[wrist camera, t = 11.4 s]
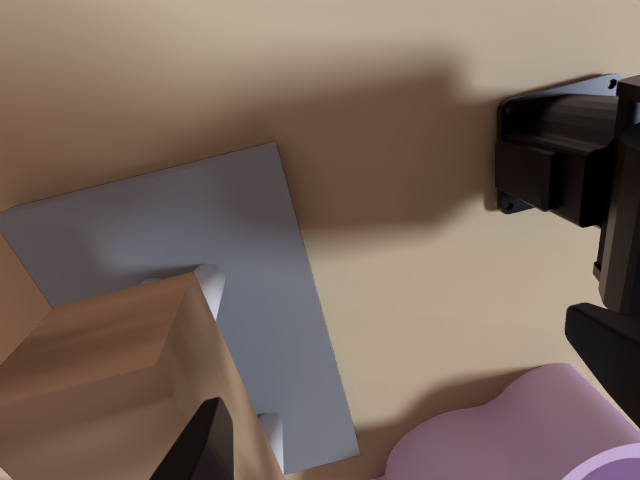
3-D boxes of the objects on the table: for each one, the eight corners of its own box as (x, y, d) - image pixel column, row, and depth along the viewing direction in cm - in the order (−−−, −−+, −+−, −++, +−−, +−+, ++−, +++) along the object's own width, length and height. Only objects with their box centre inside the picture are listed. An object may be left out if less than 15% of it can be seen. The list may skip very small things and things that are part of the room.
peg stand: (275, 140, 19) (276, 171, 13) (356, 437, 29) (377, 529, 23) (11, 207, 18) (-111, 269, 13) (187, 481, 29) (165, 585, 23)
